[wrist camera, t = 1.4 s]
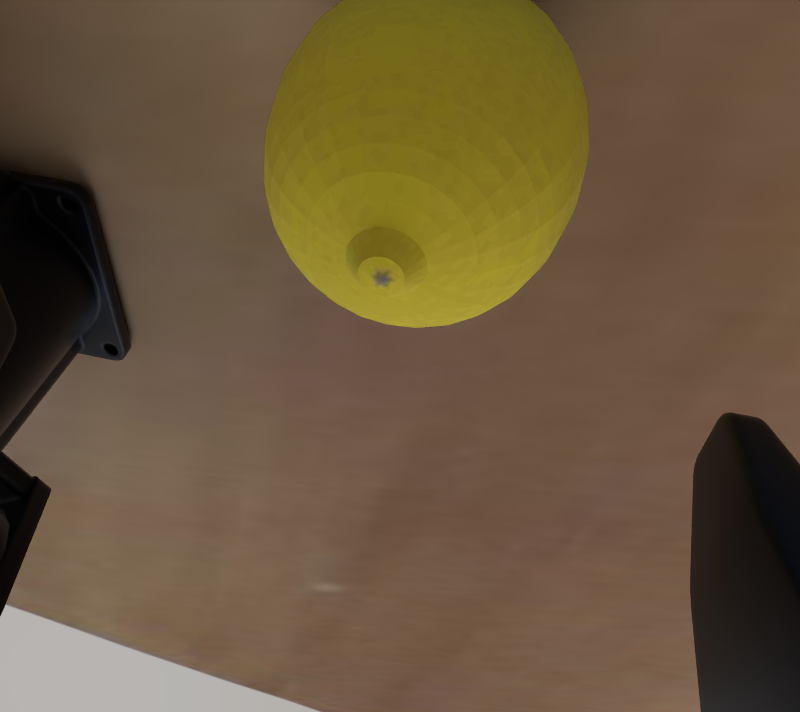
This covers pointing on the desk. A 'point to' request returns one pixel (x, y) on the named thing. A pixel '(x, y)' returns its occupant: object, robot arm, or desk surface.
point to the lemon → (426, 155)
